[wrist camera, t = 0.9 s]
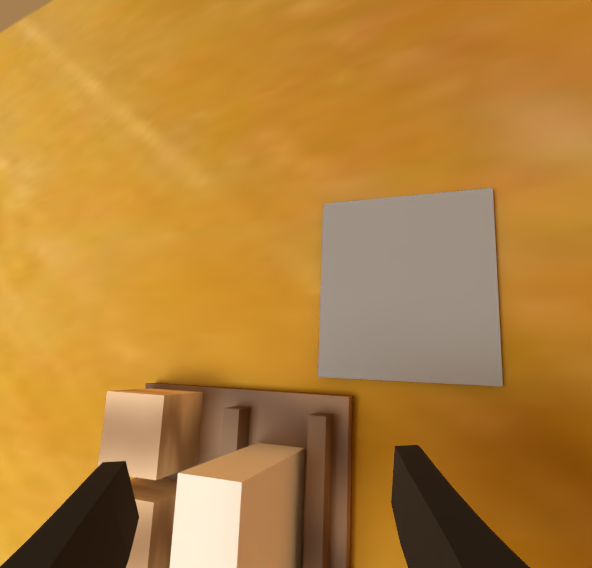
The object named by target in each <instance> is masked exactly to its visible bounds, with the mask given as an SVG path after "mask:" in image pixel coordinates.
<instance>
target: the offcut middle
mask: <svg viewBox="0 0 592 568" xmlns="http://www.w3.org/2000/svg"><path fill="white" fill-rule="evenodd" d="M130 481H131V485H132V489H133V493H134V497H135V501H136V505H137V509H138V514H139V520H138V524H137V529H136V533H135V537H134V541H133V545H132V549H131V553H130V557H129V560H128V563H127V566H126V568H170V557H171V546H172V534H173V523H174V512H175V500H176V489H177V481H175V480H168V479H162V478H161V479H158V480H150V479H144V478H138V477H137V478H134V479H131V480H130Z"/></svg>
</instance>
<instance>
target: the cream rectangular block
mask: <svg viewBox="0 0 592 568" xmlns="http://www.w3.org/2000/svg"><path fill="white" fill-rule="evenodd" d="M304 464H305V448H300V447H291V446H282V445H274V444H265V443H255V444H253V445H250V446H247V447H245V448H242V449H239V450H237V451H234V452H232V453H229V454H226V455H224V456H221V457H218V458H216V459H213V460H210V461H208V462H205V463H203V464H200V465H197V466H195V467H192V468H189V469H187V470H184V471H181V472H179V473H178V478H177V489H176V500H175V512H174V523H173V534H172V546H171V557H170V568H301V549H302V521H303V492H304Z"/></svg>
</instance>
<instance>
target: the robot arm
mask: <svg viewBox="0 0 592 568" xmlns="http://www.w3.org/2000/svg"><path fill="white" fill-rule="evenodd" d="M391 503H392V508H393V512H394V517H395V522H396V526H397V530H398V535H399V539H400V543H401V547H402V550H403V553H404V556H405V559H406V562H407V565H408V568H530V567H529V566H528V565H526V564H525V563H524V562H523V561H522V560H521V559H520V558H519V557H518V556H517V555H516V554H515V553H514V552H513V551H512V550H511V549H510V548H509V547H508V546H507V545H506V544H505V543H504V542H503V541H502V540H501V539H500V538H499V537H498V536H497V535H496V534H495V533H494V532H493V531H492V530H491V529H490V528H489V527H488V526H487V525H486V524H485V523H484V522H483V520H482V519H481V518H480V517H479V516H478V515H477V514H476V513H475V512H474V511H473V510H472V508H471V507H470V506H469V505H468V504H467V503H466V502H465V501H464V500H463V498H462V497H461V496H460V495H459V494H458V493H457V492H456V490H455V489H454V488H453V487H452V486H451V485H450V483H449V482H448V481H447V480H446V479H445V477H444V476H443V475H442V474H441V473H440V471H439V470H438V469H437V468H436V466H435V465H434V464H433V463H432V461H431V460H430V459H429V458H428V456H427V455H426V454H425V453H424V451H423V450H422V449H421V448H420V447H419V446H418V445H409V446H395V454H394V470H393V486H392V501H391ZM138 520H139V514H138V509H137V505H136V501H135V497H134V493H133V489H132V485H131V481H130V477H129V473H128V468H127V464H126V461H115V462H102V463H101V464H100V466H99V467H98V468H97V469H96V470H95V471H94V472H93V473H92V474H91V475H90V476H89V477H88V478H87V479H86V480H85V481H84V482H83V483H82V484H81V485H80V486H79V488H78V489H77V490H76V491H75V492H74V493H73V494H72V495H71V496H70V497H69V498H68V499H67V500H66V501H65V502H64V503H63V504H62V506H61V507H60V508H59V509H58V510H57V511H56V512H55V513H54V514H53V515H52V516H51V517H50V518H49V519H48V520H47V521H46V522H45V523H44V524H43V525H42V526H41V527H40V528H39V529H38V530H37V531H36V532H35V533H34V534H33V535H32V536H31V537H30V538H29V539H28V540H27V541H26V542H25V543H24V544H23V545H22V546H21V547H20V548H19V549H18V550H17V551H16V552H15V553H14V554H13V555H12V556H11V557H10V558H9V559H8V560H7V561H6V562H5V563H4V564H3V565H2V566H0V568H126V566H127V563H128V560H129V557H130V553H131V549H132V545H133V541H134V537H135V533H136V529H137V524H138Z"/></svg>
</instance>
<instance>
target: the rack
mask: <svg viewBox="0 0 592 568" xmlns="http://www.w3.org/2000/svg"><path fill="white" fill-rule="evenodd" d="M150 388H153V389H167V390H181V391H195V392H203V401H202V413H201V425H200V438H199V450H198V463H197V465H200V464H203V463H205V462H208V461H210V460H213V459H216V458H218V457H221V456H224V455H226V454H229V453H232V452H234V451H237V450H239V449H242V448H245V447H247V446H250V445H253V444H255V443H265V444H274V445H282V446H291V447H300V448H305V464H304V492H303V521H302V549H301V568H350V528H351V462H352V396H345V395H330V394H315V393H300V392H284V391H269V390H254V389H239V388H223V387H208V386H193V385H178V384H163V383H146V389H150ZM197 465H196V466H197ZM193 467H195V466H193ZM190 468H192V467H190ZM188 469H189V468H188ZM185 470H187V469H185ZM182 471H184V470H182ZM180 472H181V471H180ZM178 473H179V472H177V473H174V474H172V475H169V476H166V477H164V478H162V479H168V480H175V481H177V478H178ZM136 478H137V477H136Z"/></svg>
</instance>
